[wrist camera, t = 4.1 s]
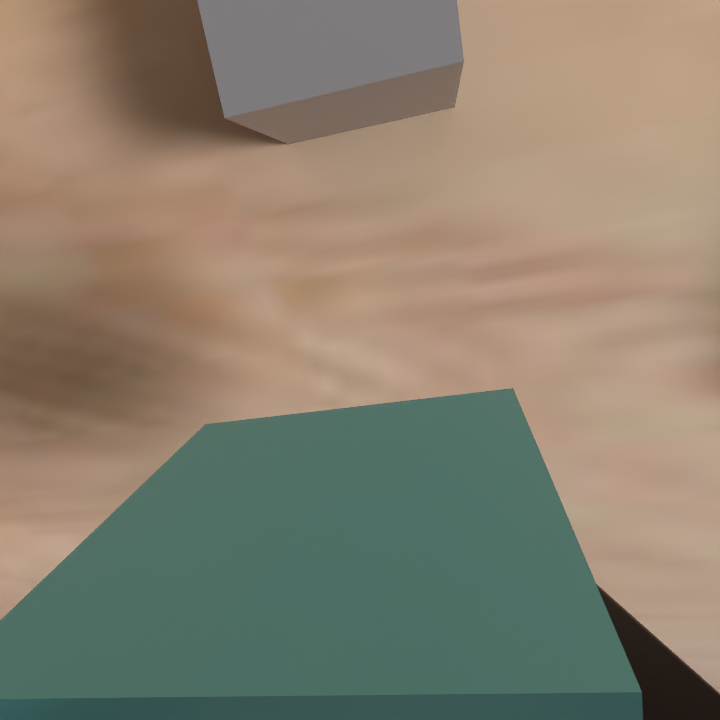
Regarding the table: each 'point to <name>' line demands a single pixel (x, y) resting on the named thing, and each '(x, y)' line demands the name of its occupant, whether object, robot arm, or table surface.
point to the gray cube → (331, 62)
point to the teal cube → (329, 582)
